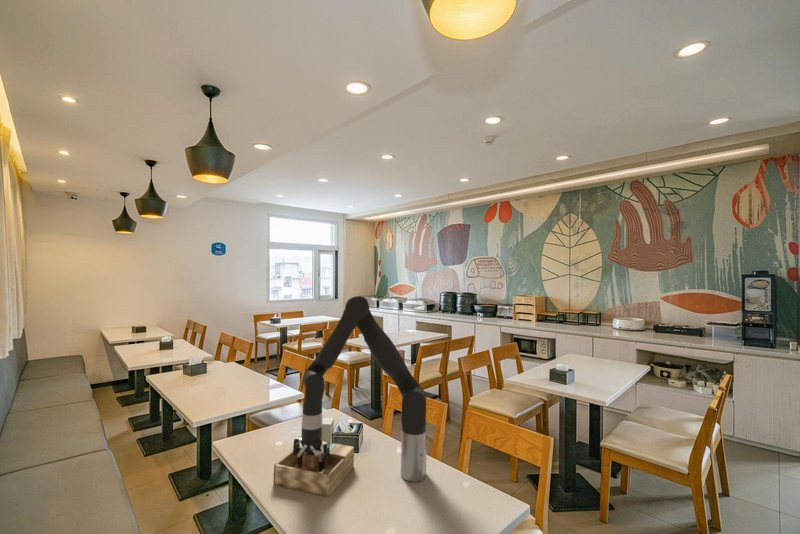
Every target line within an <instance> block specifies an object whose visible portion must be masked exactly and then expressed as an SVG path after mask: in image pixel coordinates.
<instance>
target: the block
mask: <svg viewBox="0 0 800 534" xmlns="http://www.w3.org/2000/svg"><path fill="white" fill-rule="evenodd" d="M317 452H318V453H319V451H317ZM302 470H307V471H312V472H317V473H318V472H319V459H318V458H317V457H316V456H315V454H311V453H306V452H305V453H304V454H303V461H302Z"/></svg>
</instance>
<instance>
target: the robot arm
mask: <svg viewBox="0 0 800 534" xmlns="http://www.w3.org/2000/svg"><path fill="white" fill-rule="evenodd" d="M356 327H357V328H358V329H359V332H360V333H361V335H362V337H363V338H364V342H365V343H366V346H367V347H368V349H369V351H370V353H371V355H372V356H373V358H374V360H375V361H376V363H377V364H378V366H379V367H380V368H381V370H383V372H384V373H385V374H386V375H387V376H388V377H389V378H390V379H391V380H392V381H393V382H394V383H395V385H396V387H397V388H398V390H399V393H400V395H401V397H402V400H401V446H400V447H401V449H400V450H401V451H400V478H402V479H403V480H404V481H407V482H423V481H424V480H425V479H424V478H425V476H426V474H427V448H426V431H427V428H426V426H427V394H426V391H425V390H424V389H423V387H422V386H421V385H420V384H419V382H418V381H417V379H415V377H414V376H413V375H412V373H411V372H410V370H409V368H408V367H407V365H406V362H405V360H404V359H403V358H402V357H403V356H402V355H401V354H400V352H399V350H398V348H397V347H396V346H395V344H394V342H393V341H392V340H391V338H390V337H389V335H387V333H386V332H385V331H384V330H383V329H382V328H381V326H380V325H379V324H378V323H377V321H376V319H375V318H374V316H373V313H372V312H371V310H370V304H369V301H368V300H367V298H365V297H364V296H362V295H354V296H351V297H350V298H348V299H347V301H346V303H345V308H344V311H343V313H342V315H341V317H340V319H339V321H338V323H337V324H336V327H334V330H333V331H332V332H331V334H330V335H329V336H328V339H327V340H326V341H325V343H324V345H323V346H322V348H321V349H320V351H319V353H318V354H317V356H316V358H315V359H314V360H313V361H312V363H311V364H309V366H308V367H307V369H306V370H305V372H304V373H303V376H302V382H303V385H304V387H305V388H304V390H305V391H304V393H305V394H304V399H303V402H302V415H301V416H302V417H301V437H300V436H297V437H295V438H294V439H293V448H292V451H293V455H296V456H297V457H298V467H299V468H301V467H302V461H303V454H304V452H305V451H306V453H311V454H315V456H316V457H317V458H318V459H319V472H321V471H322V470H323V469H324V467H325V461H327V460H328V459H329V458H330V443H329V442H326V443H323V442H322V440H321V439H322V420H323V418H324V417H323V397H324V392H325V377H324V376H325V374H326V373H327V371H328V370H330V369H331V368H333V367H334V365H335V363H336V361H337V360H338V358H339V357H340V356H341V355H340V354H341V353H342V351H343V349H344V347H345V346H346V343H347V341H348V340H349V338H350V336H351V334H352V333H353V331H354V330H355V328H356ZM300 443H301V444H302V446H303V448H302V449H301V450H300V451H299V448H300ZM321 446H322V447H323V448H321ZM322 449H323V450H322ZM318 450H319V453H318V452H317V451H318ZM323 451H324V454H323Z"/></svg>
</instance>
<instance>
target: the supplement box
mask: <svg viewBox="0 0 800 534" xmlns="http://www.w3.org/2000/svg"><path fill="white" fill-rule="evenodd" d="M322 418H323V420H322V439H321V440H322V441H324V442H330V443H332V434H333V432H335V431H334V430H335V427H334V426H335V418H334V417H322Z"/></svg>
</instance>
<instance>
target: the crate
mask: <svg viewBox="0 0 800 534" xmlns="http://www.w3.org/2000/svg"><path fill="white" fill-rule="evenodd" d="M322 442H323V443H326V442H324V441H322ZM329 443H330V442H329ZM302 448H303V446H302V444H301V443H300V448H299V451H300V450H301V449H302ZM321 448H323V447H322V446H321ZM322 450H323V449H322ZM318 451H319V450H318ZM305 452H306V451H305ZM305 452H304V453H305ZM323 454H324V451H323ZM354 455H355V447H354V446H351V445H345V444H340V443H334V442H333V443H330V458H329V459H328V460H327V461H325V467H324V469H323V470H322V471H321V472H318V473H317V472H312V471H307V470H302V467H301V468H299V467H298V457H297V456H296V455H293V450H291V451H290V452H289V453H288V454H286V455H285V456H284V457H282V458H281V459H280V460H279V461H277V462H276V463H275V464H273V485H274V486H279V487H282V488H287V489H292V490H296V491H300V492H304V493H308V494H313V495H318V496H321V497H326V498H329V496H330V495H331V494H332V493H333V491H334V490H336V488H337V487H338V486H339V485H340V484H341V482H342V481H343V480H344V478H345V477H346V476H347V475H348V474H349V473H350V472H351V470H352V469H353V468H354V465H355V464H354V463H355V462H354V461H355V457H354Z"/></svg>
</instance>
